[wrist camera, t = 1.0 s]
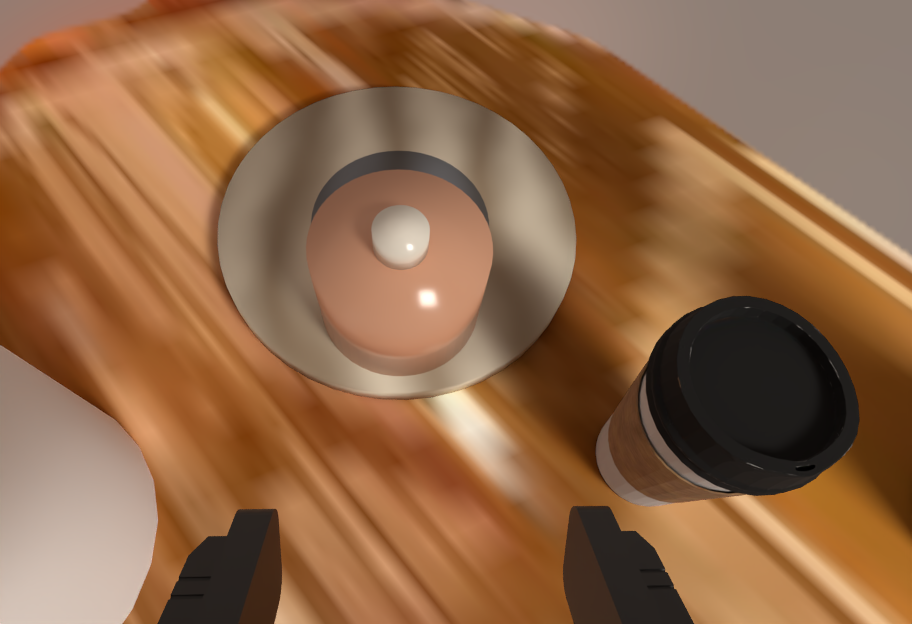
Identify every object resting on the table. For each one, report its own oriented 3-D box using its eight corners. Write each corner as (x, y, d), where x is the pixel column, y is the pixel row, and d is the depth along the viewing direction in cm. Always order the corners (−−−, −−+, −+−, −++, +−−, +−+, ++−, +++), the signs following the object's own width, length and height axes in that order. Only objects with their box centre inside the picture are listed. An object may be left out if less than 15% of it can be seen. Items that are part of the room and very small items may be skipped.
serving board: (525, 87, 51) (528, 73, 50) (613, 366, 41) (620, 357, 40) (214, 117, 47) (209, 103, 46) (233, 430, 38) (227, 424, 36)
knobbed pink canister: (461, 225, 43) (474, 142, 35) (494, 362, 39) (517, 301, 31) (312, 244, 42) (292, 162, 34) (331, 388, 38) (312, 332, 30)
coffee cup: (594, 540, 37) (707, 501, 23) (561, 400, 40) (642, 295, 27) (728, 517, 38) (911, 467, 24) (685, 383, 41) (824, 273, 28)
